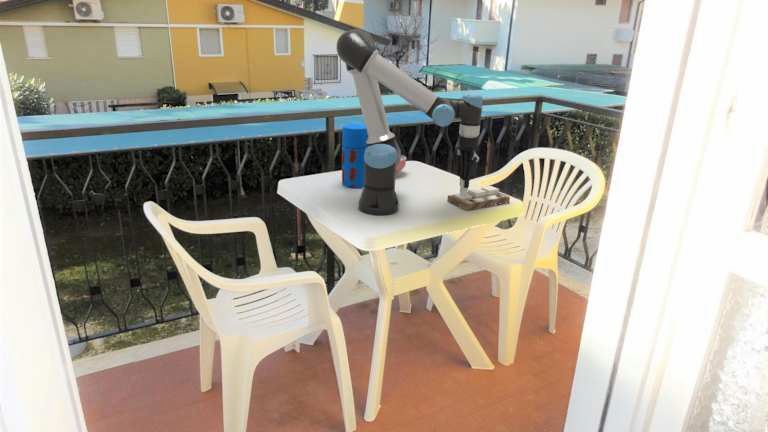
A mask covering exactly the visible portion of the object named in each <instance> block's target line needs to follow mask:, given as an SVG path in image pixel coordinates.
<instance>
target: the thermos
mask: <svg viewBox="0 0 768 432" xmlns="http://www.w3.org/2000/svg"><path fill="white" fill-rule="evenodd" d="M341 133H342V138H341V140H342V141H341V143H342V144H341V146H342V147H341V153H342V154H341V184H342V186H343V187H345V188H348V189H362V188H363V189H364V154H365V150H366V148H367V145H366V141H367V139H368V133H367V129H366V125H365V124H357V123H356V124H355V123H351V124H350V123H349V124H344V125H342V132H341Z"/></svg>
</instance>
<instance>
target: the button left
mask: <svg viewBox="0 0 768 432" xmlns="http://www.w3.org/2000/svg"><path fill="white" fill-rule="evenodd" d="M453 195H454V197H455V198H457V199H459V200H461V201H463V200H469V199H472V196H470V195H468V194H467V195H464V196H461V195H460V192H458V193H455V194H453Z"/></svg>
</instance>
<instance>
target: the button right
mask: <svg viewBox="0 0 768 432" xmlns="http://www.w3.org/2000/svg"><path fill="white" fill-rule="evenodd" d="M480 189H481V190H484V191H486V195H488V196H491V195H497V194H499V193H500V189H499V188H498V187H494V186H492V185H487V186H481V188H480Z"/></svg>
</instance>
